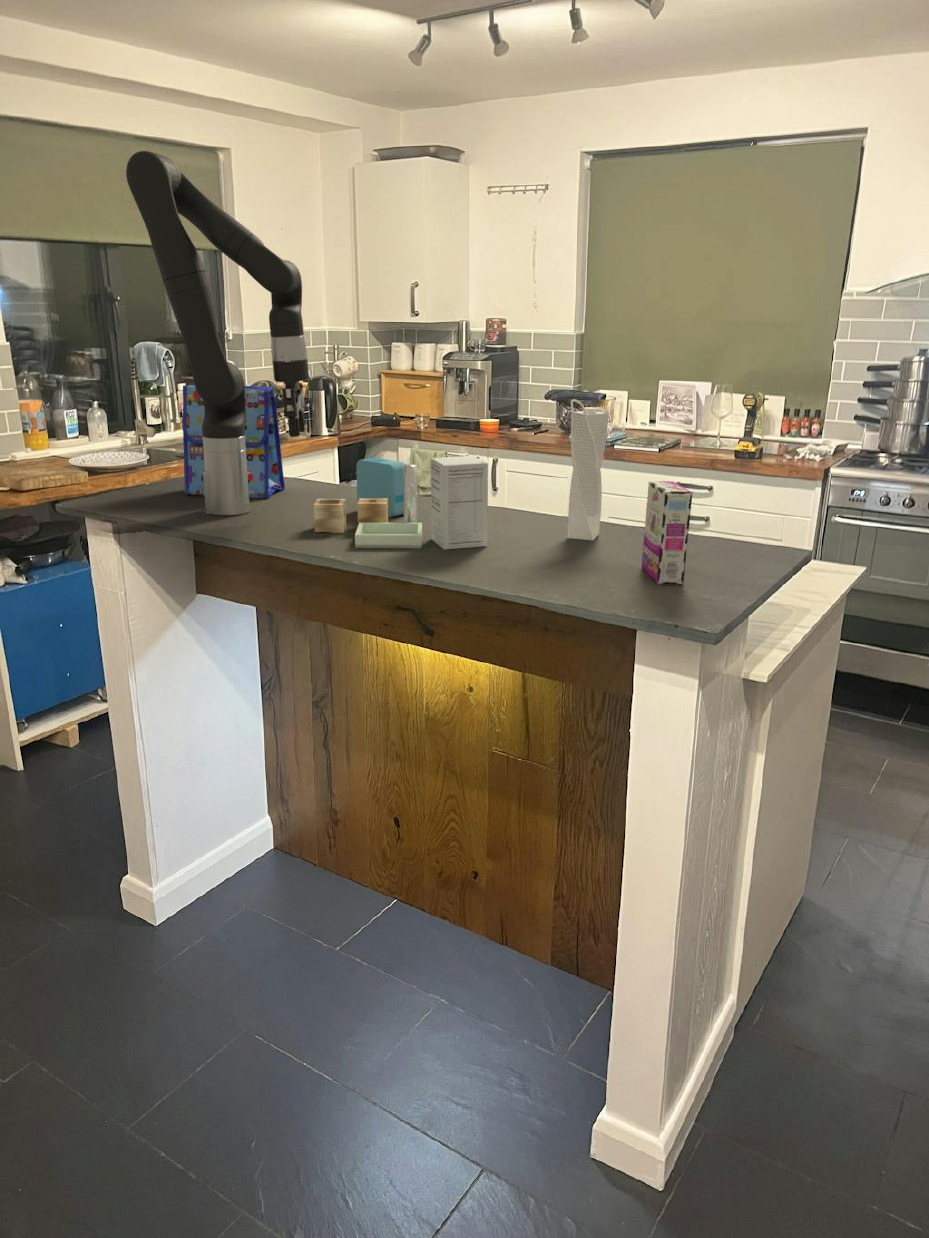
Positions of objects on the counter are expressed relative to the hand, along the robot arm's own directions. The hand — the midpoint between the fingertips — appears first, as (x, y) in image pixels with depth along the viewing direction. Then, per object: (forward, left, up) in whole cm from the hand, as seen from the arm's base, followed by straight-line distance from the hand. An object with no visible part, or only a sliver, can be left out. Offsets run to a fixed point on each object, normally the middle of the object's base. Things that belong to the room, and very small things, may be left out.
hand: (297, 434), depth 207 cm
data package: (+18, +2, -18) cm, 26 cm away
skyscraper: (+61, -20, -18) cm, 67 cm away
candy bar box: (+71, -50, -18) cm, 89 cm away
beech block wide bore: (+8, -15, -18) cm, 25 cm away
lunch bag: (-20, +25, -18) cm, 36 cm away
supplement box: (+35, -26, -18) cm, 48 cm away
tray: (+21, -25, -18) cm, 38 cm away
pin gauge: (+25, -16, -18) cm, 35 cm away
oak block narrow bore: (+17, -14, -18) cm, 29 cm away
